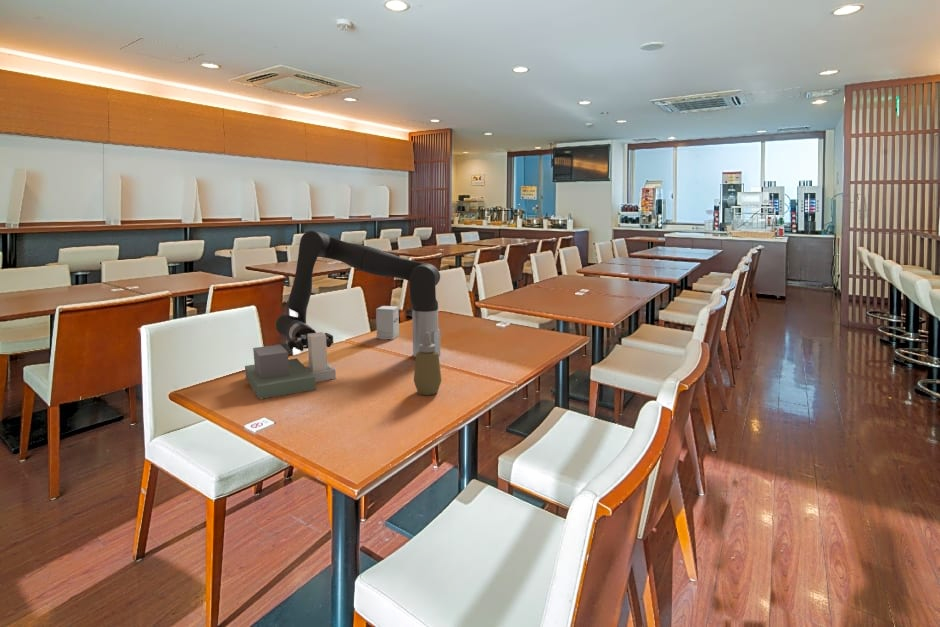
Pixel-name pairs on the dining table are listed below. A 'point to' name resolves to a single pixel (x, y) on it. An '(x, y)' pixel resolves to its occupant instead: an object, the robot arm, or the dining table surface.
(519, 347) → the dining table surface
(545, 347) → the dining table surface
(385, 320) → the supplement box
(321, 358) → the tall white pillar block
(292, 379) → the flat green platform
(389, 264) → the robot arm
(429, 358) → the squeeze bottle
